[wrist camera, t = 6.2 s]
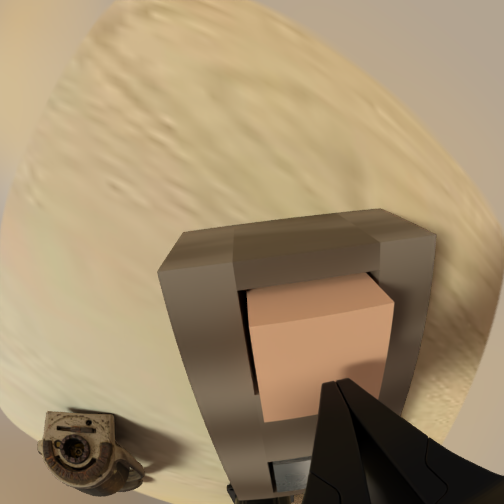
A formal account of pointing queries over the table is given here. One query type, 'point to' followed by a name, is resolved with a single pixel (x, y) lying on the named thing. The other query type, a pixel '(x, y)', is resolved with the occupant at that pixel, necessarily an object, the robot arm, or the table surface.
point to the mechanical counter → (88, 454)
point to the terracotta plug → (317, 340)
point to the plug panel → (237, 326)
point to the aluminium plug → (291, 473)
